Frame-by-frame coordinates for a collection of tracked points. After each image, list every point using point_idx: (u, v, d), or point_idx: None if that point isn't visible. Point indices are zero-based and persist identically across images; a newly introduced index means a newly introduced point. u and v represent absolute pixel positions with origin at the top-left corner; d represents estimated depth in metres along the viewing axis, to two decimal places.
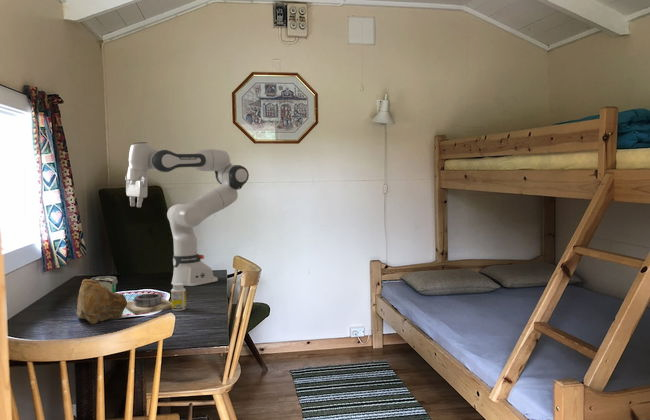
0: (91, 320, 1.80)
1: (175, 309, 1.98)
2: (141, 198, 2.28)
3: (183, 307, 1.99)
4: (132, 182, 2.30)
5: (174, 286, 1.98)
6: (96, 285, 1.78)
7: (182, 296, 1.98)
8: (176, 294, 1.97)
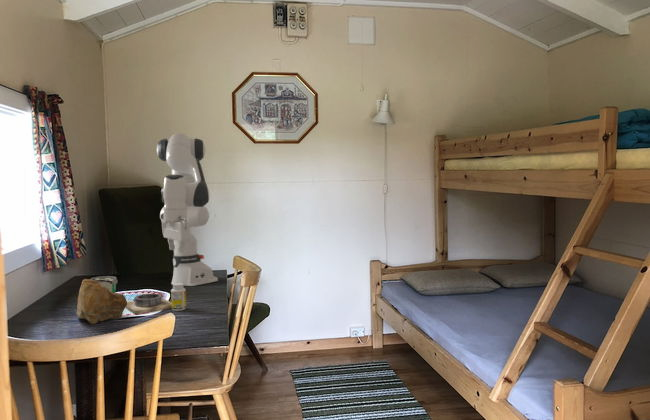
0: (91, 320, 1.80)
1: (175, 309, 1.98)
2: (183, 242, 1.93)
3: (183, 307, 1.99)
4: (170, 223, 1.95)
5: (174, 286, 1.98)
6: (96, 285, 1.78)
7: (182, 296, 1.98)
8: (176, 294, 1.97)
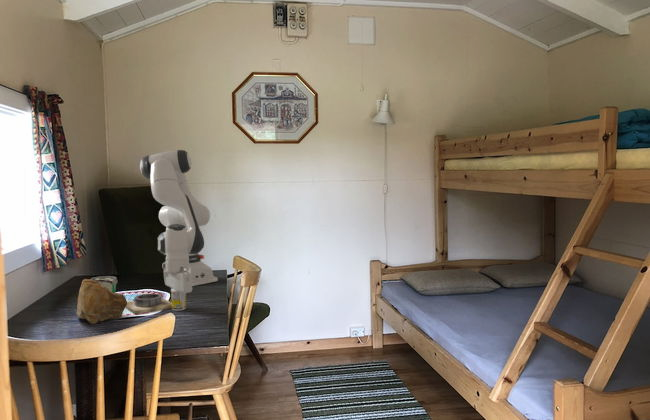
0: (91, 320, 1.80)
1: (175, 309, 1.98)
2: None
3: (183, 307, 1.99)
4: (172, 274, 1.96)
5: None
6: (96, 285, 1.78)
7: None
8: (176, 294, 1.97)
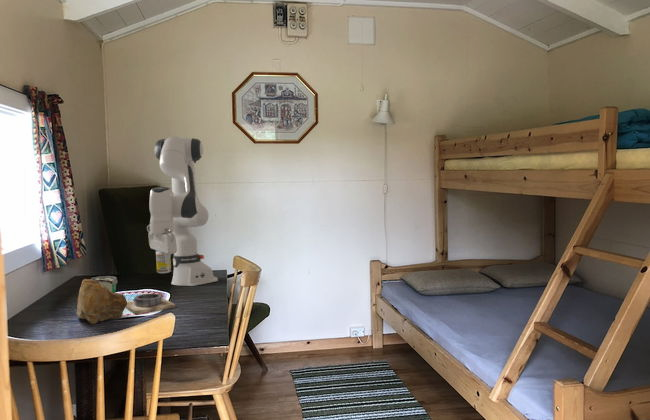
0: (91, 320, 1.80)
1: (160, 271, 1.99)
2: (169, 253, 1.97)
3: (168, 269, 2.00)
4: (157, 236, 1.98)
5: None
6: (96, 285, 1.78)
7: None
8: (161, 257, 1.99)
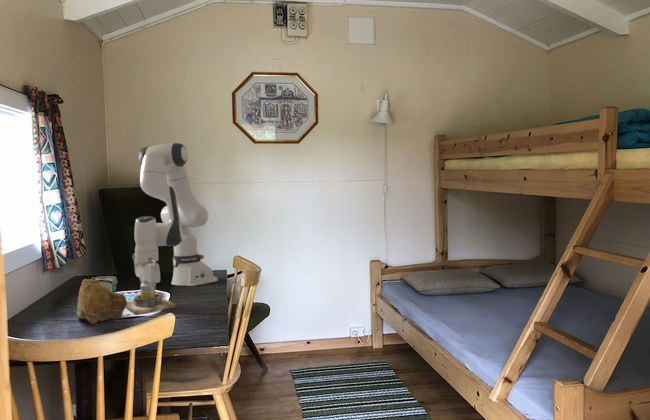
0: (91, 320, 1.80)
1: None
2: (154, 283, 1.99)
3: None
4: (141, 265, 2.01)
5: (143, 281, 2.03)
6: (96, 285, 1.78)
7: None
8: (145, 289, 2.02)
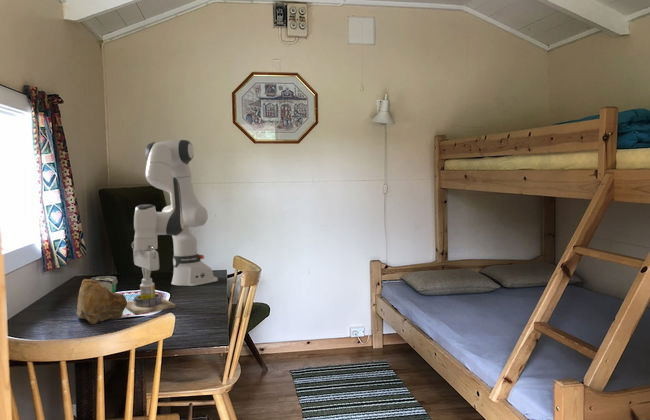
0: (91, 320, 1.80)
1: None
2: (149, 269, 2.01)
3: None
4: (140, 252, 2.00)
5: (143, 281, 2.02)
6: (96, 285, 1.78)
7: (150, 291, 2.02)
8: (144, 289, 2.01)
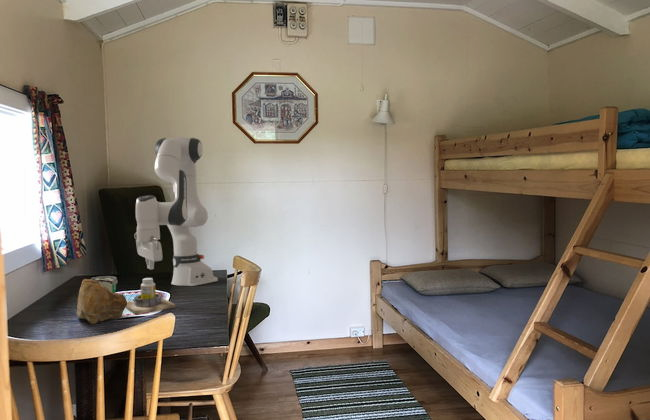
0: (91, 320, 1.80)
1: None
2: None
3: None
4: (143, 243, 2.03)
5: (144, 281, 2.02)
6: (96, 285, 1.78)
7: (151, 291, 2.03)
8: (145, 289, 2.02)
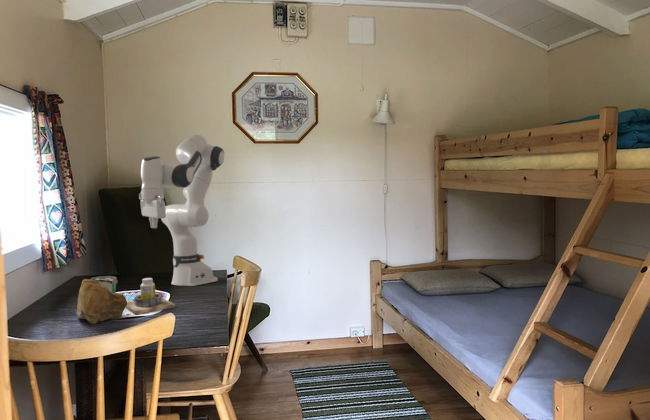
0: (91, 320, 1.80)
1: None
2: (156, 218, 2.11)
3: None
4: (148, 202, 2.09)
5: (143, 281, 2.02)
6: (96, 285, 1.78)
7: (151, 291, 2.03)
8: (145, 289, 2.02)
